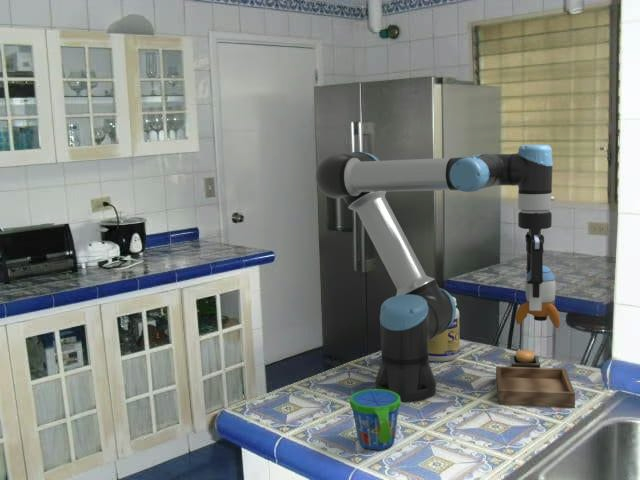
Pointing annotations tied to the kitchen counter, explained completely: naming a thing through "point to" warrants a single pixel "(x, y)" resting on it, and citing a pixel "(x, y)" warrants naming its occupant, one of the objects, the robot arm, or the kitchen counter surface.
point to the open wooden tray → (534, 387)
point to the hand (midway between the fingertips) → (533, 305)
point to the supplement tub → (446, 342)
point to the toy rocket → (547, 301)
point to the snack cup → (375, 417)
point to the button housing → (521, 364)
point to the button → (525, 356)
